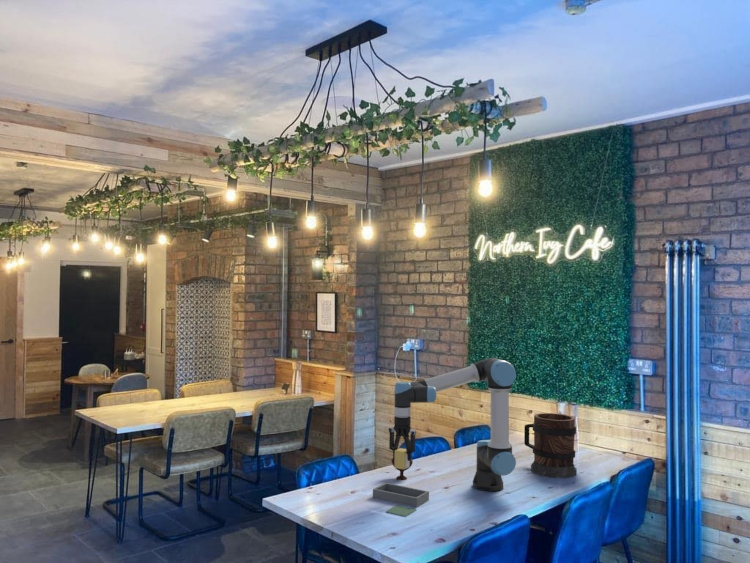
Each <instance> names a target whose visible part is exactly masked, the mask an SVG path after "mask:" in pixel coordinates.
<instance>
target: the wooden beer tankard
mask: <svg viewBox="0 0 750 563" xmlns="http://www.w3.org/2000/svg"><path fill="white" fill-rule="evenodd" d="M523 427H524V429H523V430H524V446H526V447H528V448H530V449H532V453H533V456H534V460H533V461H532V463H531V464H530V471H531V472H532V473H533V474H536V475H537V476H542V477H547V478H554V479H571V478H574V477H576V476H577V474H578V473H577V471H578V469H577V467H576V466H575V464H574V459H575V458H576V450H575V435H576V434H577V427H576V418H575V417H574V416H572V415H568V414H564V413H563V414H561V413H555V412H551V413H550V412H545V413H544V412H541V413H536V414H535V413H534V415H533V423H529V424H525V425H524V426H523ZM530 428H532V431H533V432H534V433H533V435H534V436H533V441H534V442H533V443H532V444H531V443H530ZM570 477H571V478H570Z"/></svg>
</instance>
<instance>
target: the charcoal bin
mask: <svg viewBox="0 0 750 563" xmlns="http://www.w3.org/2000/svg"><path fill="white" fill-rule="evenodd" d="M372 499H376V500H379V501H386V502H389V503H394V504H397V505H402V506H406V507H411V508H412V507H413V508H415V509H418V508H419V507H421V506H422V505H424V504H425V503H427V502H429V500H430V490H429V491H428V490H423V489H418V488H413V487H408V486H404V485H398V484H394V483H388V482H385V483H382V484H381V485H378V486H377V487H375V488H373V489H372Z"/></svg>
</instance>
